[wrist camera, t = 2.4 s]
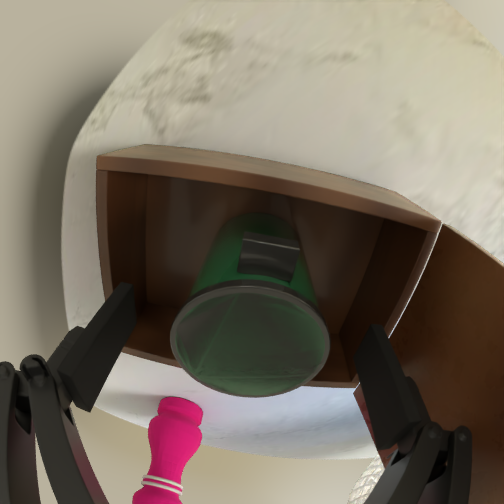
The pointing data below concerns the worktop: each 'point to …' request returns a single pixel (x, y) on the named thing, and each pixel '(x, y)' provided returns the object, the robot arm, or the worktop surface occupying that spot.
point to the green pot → (252, 312)
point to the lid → (458, 353)
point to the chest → (249, 201)
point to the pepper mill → (170, 450)
